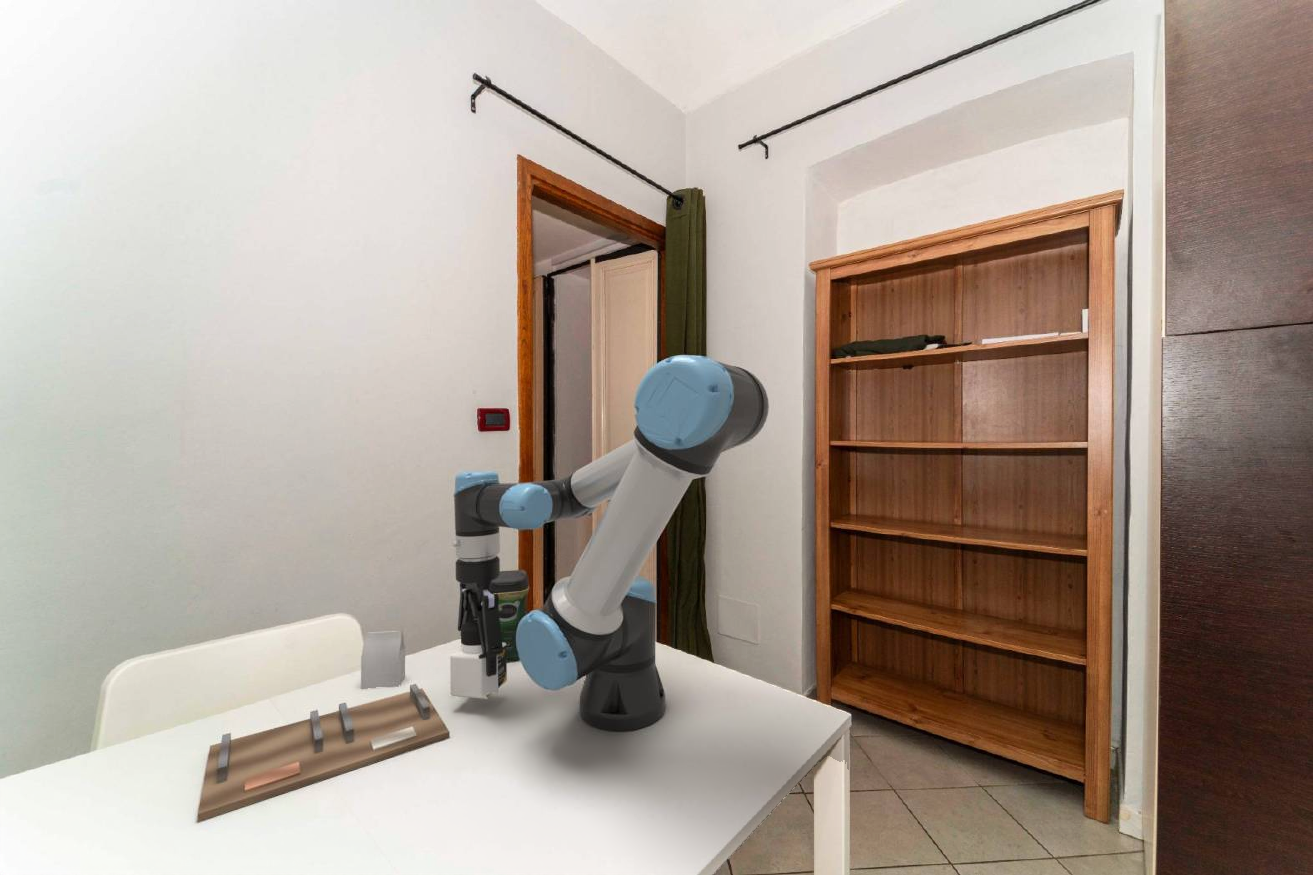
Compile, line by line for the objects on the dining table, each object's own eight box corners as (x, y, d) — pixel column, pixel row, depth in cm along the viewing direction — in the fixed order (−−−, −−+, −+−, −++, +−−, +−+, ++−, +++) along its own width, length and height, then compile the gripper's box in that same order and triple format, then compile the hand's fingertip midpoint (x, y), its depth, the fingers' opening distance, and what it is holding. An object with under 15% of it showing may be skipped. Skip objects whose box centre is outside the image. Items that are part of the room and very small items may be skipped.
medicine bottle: (487, 699, 88) (486, 629, 88) (449, 696, 89) (448, 626, 90) (507, 680, 95) (506, 615, 95) (472, 678, 96) (471, 613, 97)
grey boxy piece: (398, 686, 99) (398, 634, 99) (360, 689, 98) (361, 636, 98) (405, 677, 103) (405, 627, 103) (368, 680, 102) (368, 629, 102)
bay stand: (449, 737, 82) (449, 718, 82) (197, 822, 64) (197, 797, 64) (422, 693, 96) (422, 677, 96) (210, 752, 78) (210, 732, 78)
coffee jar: (529, 646, 118) (529, 565, 118) (530, 660, 111) (530, 574, 111) (484, 650, 116) (485, 568, 116) (482, 665, 108) (482, 577, 108)
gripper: (439, 550, 99) (440, 667, 99) (477, 571, 81) (479, 714, 81) (478, 545, 104) (479, 657, 103) (522, 564, 86) (524, 699, 86)
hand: (479, 682), depth 92 cm, fingers closed on medicine bottle, 10 cm apart
